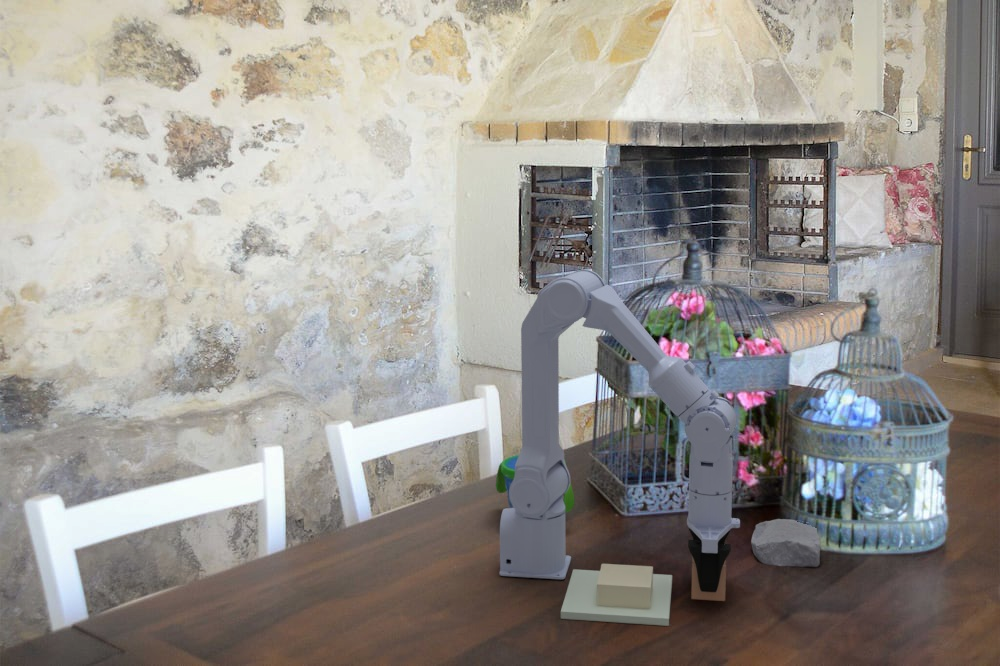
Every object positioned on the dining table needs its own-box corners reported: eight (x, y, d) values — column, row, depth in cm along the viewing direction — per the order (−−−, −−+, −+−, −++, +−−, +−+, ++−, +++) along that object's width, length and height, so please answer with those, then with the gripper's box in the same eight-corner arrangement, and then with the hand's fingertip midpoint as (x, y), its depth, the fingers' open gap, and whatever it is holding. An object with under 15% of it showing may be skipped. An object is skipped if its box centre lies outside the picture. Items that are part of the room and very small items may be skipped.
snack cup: (479, 516, 180) (478, 457, 178) (528, 502, 187) (527, 445, 185) (540, 543, 168) (540, 480, 166) (590, 527, 175) (590, 466, 173)
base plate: (560, 618, 142) (560, 589, 141) (573, 575, 156) (573, 549, 155) (668, 625, 140) (669, 596, 139) (672, 581, 153) (672, 555, 152)
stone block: (756, 577, 159) (826, 568, 157) (750, 546, 158) (820, 537, 156) (754, 549, 170) (819, 541, 168) (748, 520, 170) (814, 511, 168)
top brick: (691, 598, 147) (691, 564, 147) (691, 585, 152) (692, 551, 151) (725, 601, 147) (726, 566, 146) (724, 587, 151) (725, 553, 150)
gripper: (742, 508, 139) (739, 607, 141) (739, 473, 153) (736, 564, 155) (686, 505, 140) (684, 604, 143) (688, 471, 154) (686, 561, 157)
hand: (708, 583), depth 149 cm, fingers closed on top brick, 4 cm apart
